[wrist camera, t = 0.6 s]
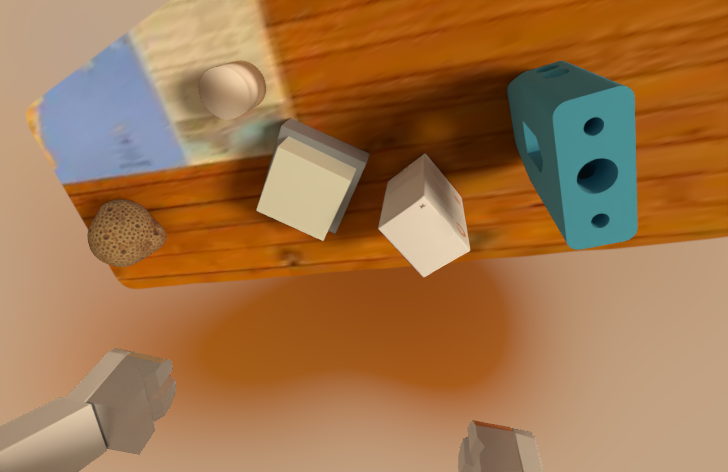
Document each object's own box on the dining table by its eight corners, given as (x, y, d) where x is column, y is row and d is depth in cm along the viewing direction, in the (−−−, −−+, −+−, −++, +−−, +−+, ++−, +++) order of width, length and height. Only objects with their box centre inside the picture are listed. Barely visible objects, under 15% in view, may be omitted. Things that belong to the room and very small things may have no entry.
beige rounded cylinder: (227, 52, 47) (203, 58, 42) (270, 72, 48) (251, 80, 43) (219, 96, 50) (195, 107, 45) (259, 114, 51) (240, 127, 45)
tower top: (288, 136, 48) (277, 146, 44) (356, 168, 49) (351, 181, 45) (267, 197, 52) (256, 210, 49) (329, 225, 53) (323, 241, 50)
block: (503, 66, 44) (550, 105, 27) (551, 50, 43) (634, 81, 26) (519, 165, 49) (567, 251, 32) (562, 155, 48) (637, 238, 31)
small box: (386, 181, 53) (375, 228, 42) (425, 151, 50) (424, 193, 39) (424, 224, 55) (423, 279, 44) (463, 198, 52) (472, 250, 41)
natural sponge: (108, 190, 60) (55, 221, 51) (161, 185, 58) (114, 217, 49) (134, 242, 64) (88, 279, 55) (183, 239, 62) (144, 277, 54)
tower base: (291, 117, 51) (281, 125, 47) (370, 152, 52) (366, 163, 48) (269, 189, 56) (259, 201, 53) (340, 220, 57) (335, 233, 54)
